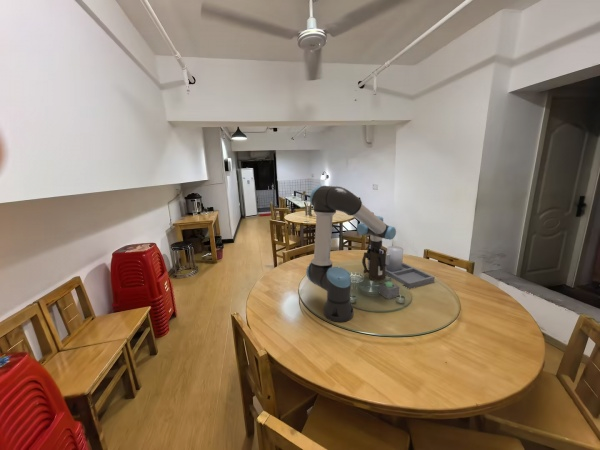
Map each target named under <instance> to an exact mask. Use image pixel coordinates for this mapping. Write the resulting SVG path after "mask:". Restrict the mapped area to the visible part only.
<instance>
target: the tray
mask: <svg viewBox="0 0 600 450" xmlns="http://www.w3.org/2000/svg"><path fill="white" fill-rule="evenodd" d="M385 274H386V275H385V276H388V277H389V278H391V279H393V280H395V281H397V282H399V283H401V284H402V286H403V287H404V286H405V287H404V288H406V287H407V288H406V289H408V288H409V289H408V290H411V288H412V289H415V288H419V287H423V286H425V285H426V286H427V285H429V283H430V284H433V282H434V283H435V280H436V279H435V276H434V275H431V274H429V273H426V272H425V271H422V270H420V269H417V268H416V267H414V266H411V265H409V264H407V263H405V262H404V261H403V262H402V270H400V271H395V272H390V271H388V270H387V269H386V267H385ZM422 285H423V286H422ZM418 286H419V287H418ZM414 287H415V288H414Z"/></svg>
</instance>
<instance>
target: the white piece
mask: <svg viewBox="0 0 600 450" xmlns="http://www.w3.org/2000/svg"><path fill="white" fill-rule="evenodd" d="M386 253H387V254H386V269H387V270H388V271H390V272H395V271H400V270H402V262H403V263H404V261H403V259H404V248H403V247H402V246H397V245H390V246H388V247H387V249H386Z"/></svg>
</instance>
